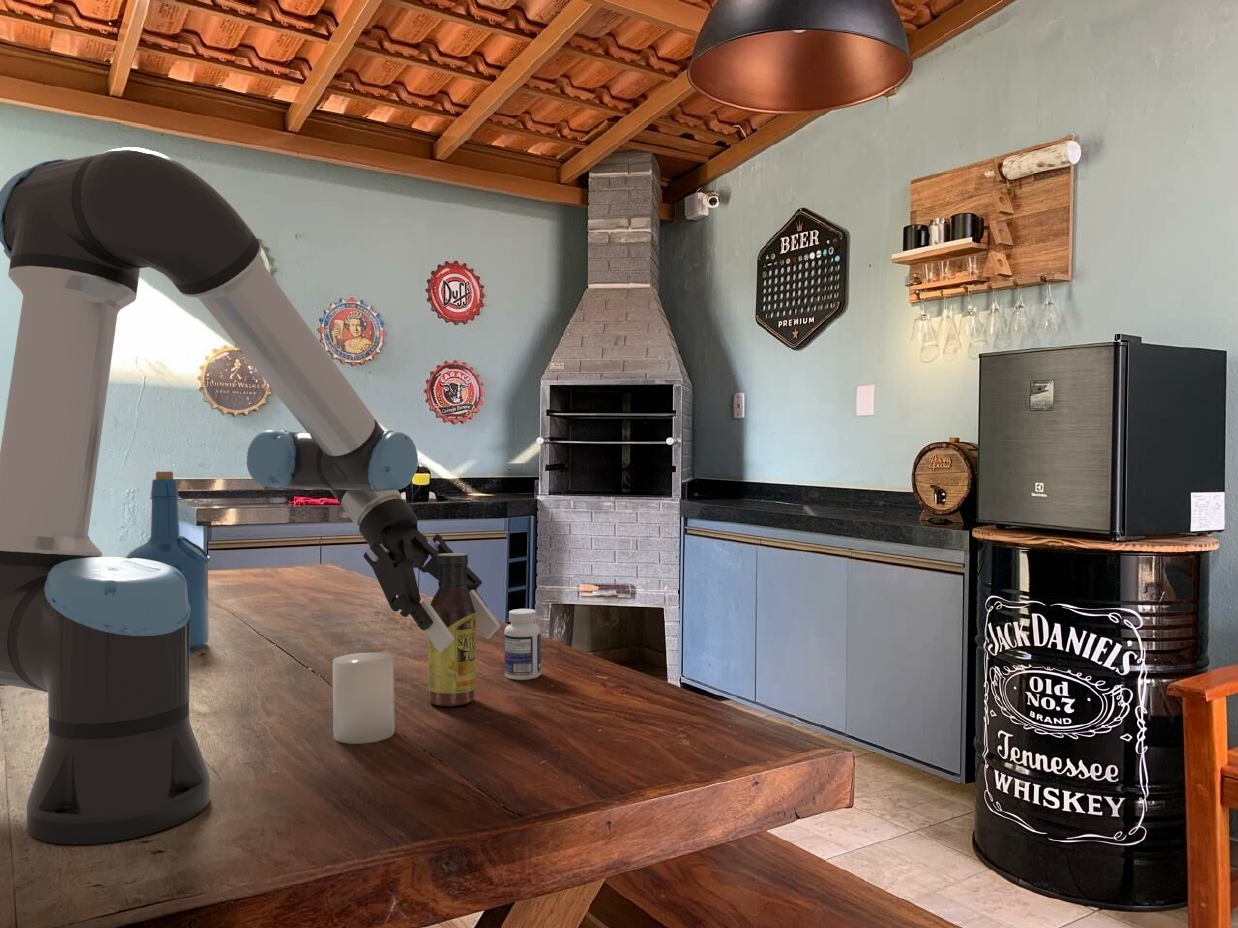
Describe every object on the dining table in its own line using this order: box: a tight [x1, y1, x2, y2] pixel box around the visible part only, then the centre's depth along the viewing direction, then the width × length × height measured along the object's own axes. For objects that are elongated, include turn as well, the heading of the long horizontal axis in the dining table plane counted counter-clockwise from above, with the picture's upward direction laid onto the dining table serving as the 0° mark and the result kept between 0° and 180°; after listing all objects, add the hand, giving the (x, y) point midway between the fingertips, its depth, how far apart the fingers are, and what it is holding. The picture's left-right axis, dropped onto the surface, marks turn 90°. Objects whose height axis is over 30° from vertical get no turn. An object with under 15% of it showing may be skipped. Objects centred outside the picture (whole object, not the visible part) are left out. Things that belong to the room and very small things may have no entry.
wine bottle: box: [125, 470, 212, 652], centre depth 157 cm, size 14×13×30 cm
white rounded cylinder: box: [332, 652, 395, 745], centre depth 111 cm, size 7×7×9 cm
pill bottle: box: [503, 608, 542, 681], centre depth 139 cm, size 5×5×10 cm
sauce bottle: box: [427, 552, 477, 707], centre depth 125 cm, size 7×6×20 cm
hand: (471, 638), depth 123 cm, fingers open, 9 cm apart
